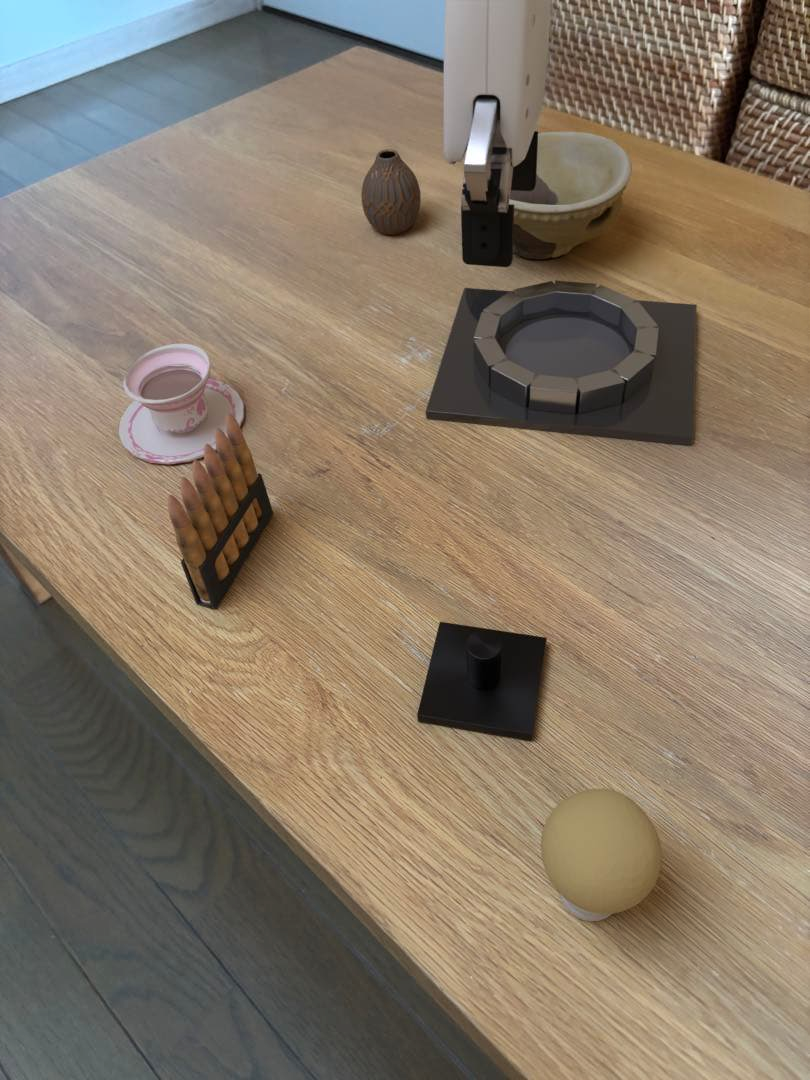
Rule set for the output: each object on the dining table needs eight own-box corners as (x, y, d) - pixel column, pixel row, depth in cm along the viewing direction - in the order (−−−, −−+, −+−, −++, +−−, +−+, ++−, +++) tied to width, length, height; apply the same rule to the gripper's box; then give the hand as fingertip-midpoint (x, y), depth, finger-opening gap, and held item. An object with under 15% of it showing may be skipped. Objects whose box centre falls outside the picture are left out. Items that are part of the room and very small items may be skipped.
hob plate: (694, 312, 89) (696, 303, 88) (691, 446, 76) (693, 437, 75) (464, 295, 93) (464, 286, 92) (426, 418, 81) (425, 410, 80)
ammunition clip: (255, 508, 75) (223, 402, 66) (274, 513, 74) (245, 407, 65) (195, 604, 68) (151, 502, 59) (216, 610, 68) (174, 507, 59)
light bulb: (569, 968, 50) (585, 913, 42) (516, 866, 54) (522, 799, 46) (663, 919, 51) (695, 857, 43) (605, 824, 55) (625, 752, 47)
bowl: (616, 203, 103) (626, 122, 96) (625, 289, 92) (638, 205, 85) (469, 204, 105) (468, 125, 98) (460, 289, 94) (458, 207, 87)
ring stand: (546, 644, 64) (550, 605, 60) (531, 741, 59) (535, 705, 55) (440, 628, 65) (437, 589, 62) (417, 722, 60) (413, 685, 57)
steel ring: (460, 401, 80) (459, 380, 79) (492, 296, 91) (493, 275, 89) (647, 422, 77) (651, 400, 75) (658, 311, 87) (662, 288, 85)
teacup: (207, 478, 78) (189, 426, 73) (95, 452, 81) (72, 401, 76) (266, 393, 85) (253, 342, 80) (161, 373, 88) (143, 322, 83)
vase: (422, 240, 101) (417, 167, 94) (363, 243, 101) (355, 170, 95) (422, 209, 105) (418, 137, 99) (366, 212, 106) (358, 141, 99)
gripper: (467, -119, 52) (471, 161, 65) (394, -19, 41) (417, 292, 54) (593, -122, 50) (572, 165, 63) (552, -19, 40) (537, 301, 53)
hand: (501, 224), depth 59 cm, fingers open, 9 cm apart
